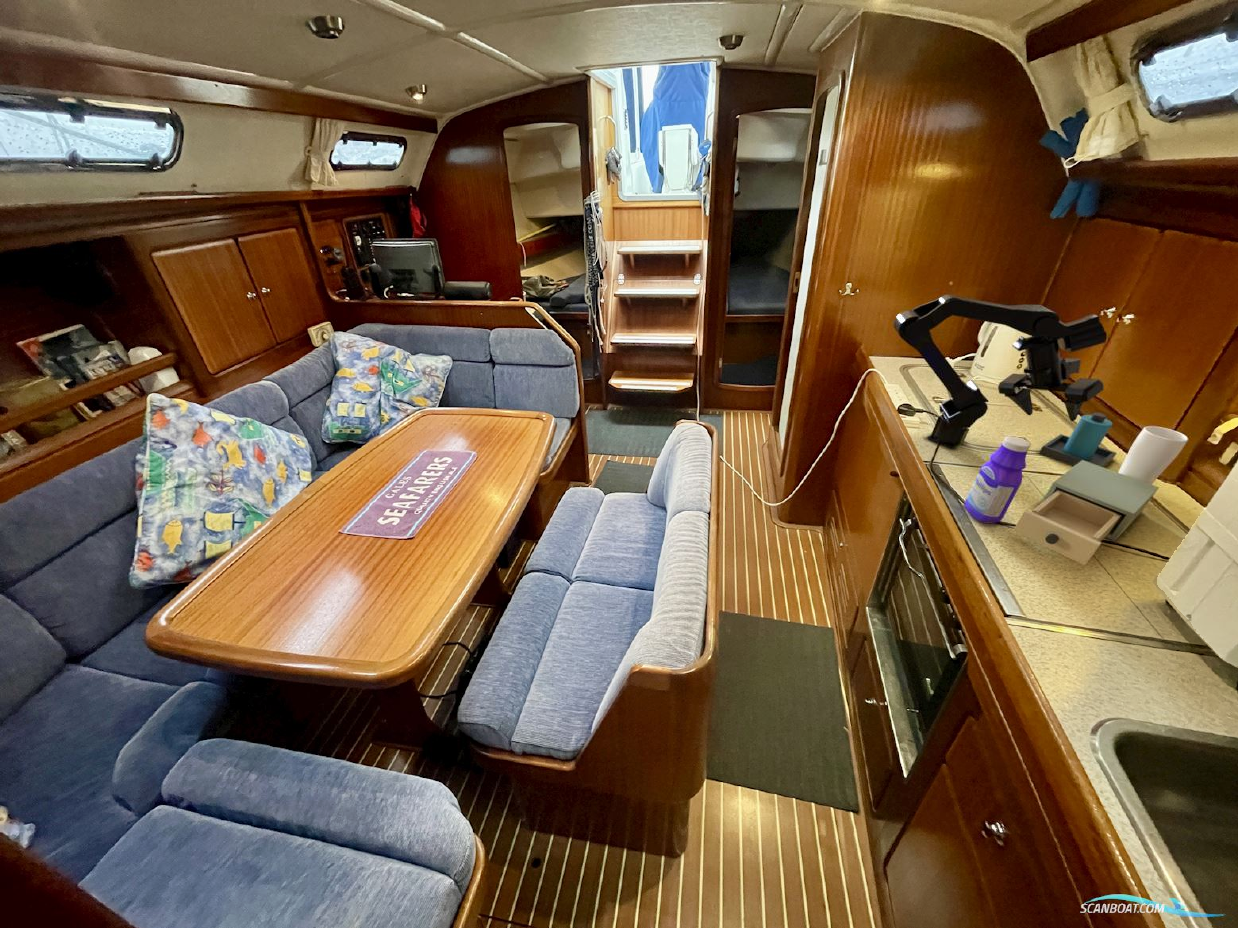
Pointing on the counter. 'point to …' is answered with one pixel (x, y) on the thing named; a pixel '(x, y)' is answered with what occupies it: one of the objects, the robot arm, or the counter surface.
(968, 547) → the counter surface
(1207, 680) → the counter surface
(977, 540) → the counter surface
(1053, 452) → the tray
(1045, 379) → the robot arm
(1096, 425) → the soap bottle
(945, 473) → the counter surface
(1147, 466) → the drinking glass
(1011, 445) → the bottle
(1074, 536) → the drawer
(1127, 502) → the cabinet
